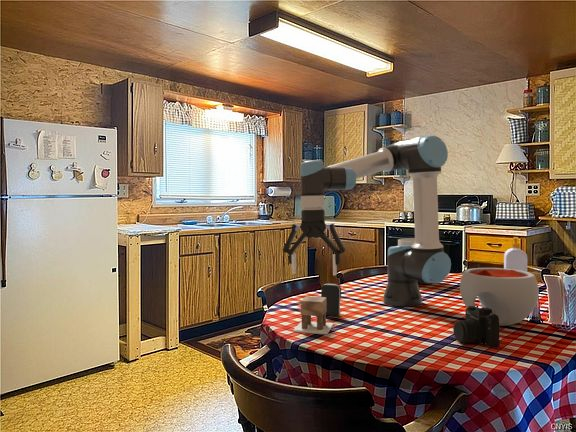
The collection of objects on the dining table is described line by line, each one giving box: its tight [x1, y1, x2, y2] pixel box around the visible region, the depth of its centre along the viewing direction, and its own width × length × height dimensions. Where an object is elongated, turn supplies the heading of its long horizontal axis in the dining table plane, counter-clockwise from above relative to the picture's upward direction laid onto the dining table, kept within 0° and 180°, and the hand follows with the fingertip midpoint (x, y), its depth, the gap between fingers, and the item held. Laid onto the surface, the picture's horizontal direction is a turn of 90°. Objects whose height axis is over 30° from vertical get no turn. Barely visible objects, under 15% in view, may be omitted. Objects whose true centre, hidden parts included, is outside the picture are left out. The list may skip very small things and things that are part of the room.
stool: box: [300, 295, 327, 330], centre depth 149 cm, size 7×7×9 cm
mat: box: [292, 320, 335, 335], centre depth 150 cm, size 11×11×1 cm
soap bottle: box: [503, 236, 528, 272], centre depth 216 cm, size 9×7×23 cm
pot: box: [459, 267, 540, 327], centre depth 154 cm, size 24×24×18 cm
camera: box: [453, 304, 501, 349], centre depth 135 cm, size 14×11×10 cm
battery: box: [320, 282, 342, 317], centre depth 166 cm, size 7×4×11 cm, turn 65°
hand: (314, 274), depth 149 cm, fingers open, 13 cm apart
